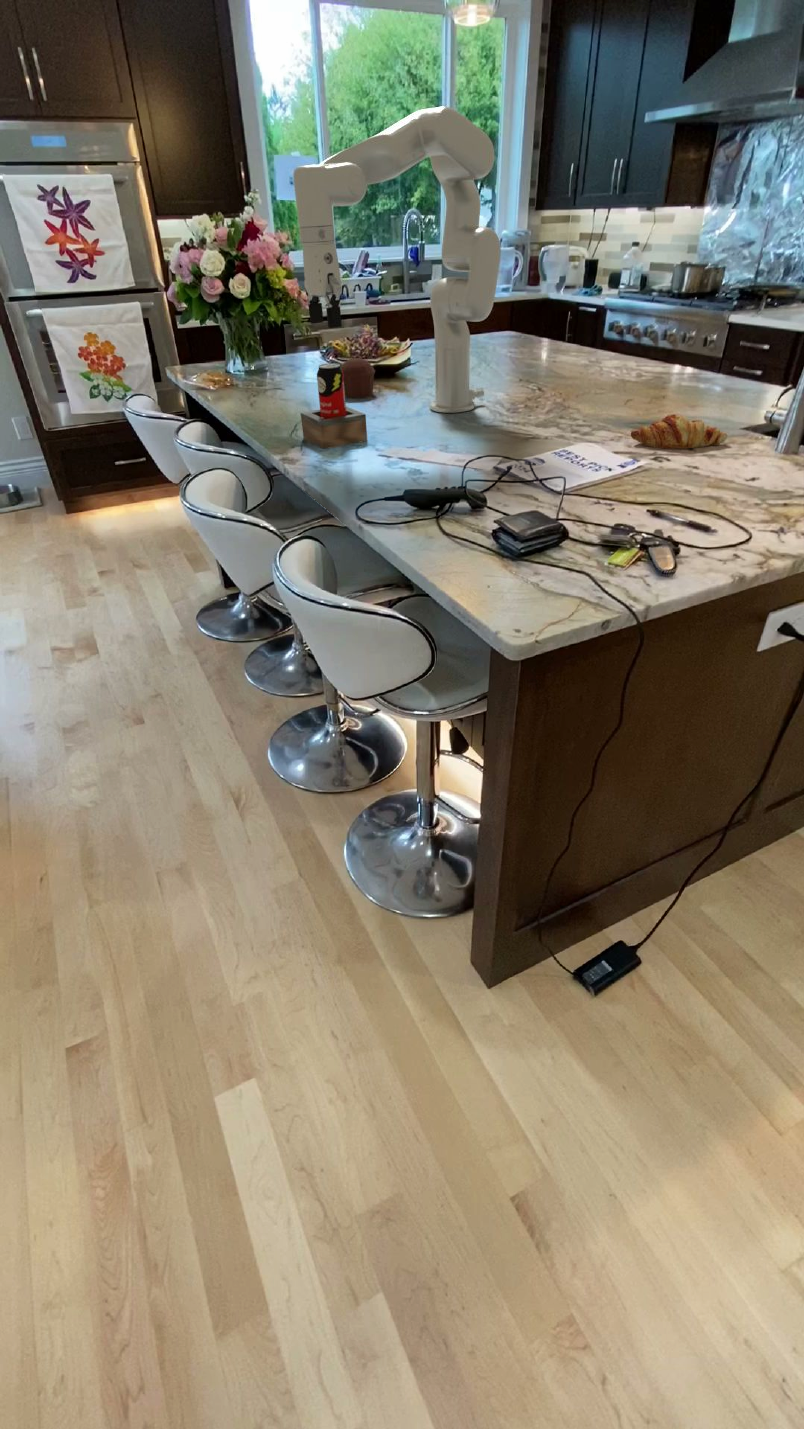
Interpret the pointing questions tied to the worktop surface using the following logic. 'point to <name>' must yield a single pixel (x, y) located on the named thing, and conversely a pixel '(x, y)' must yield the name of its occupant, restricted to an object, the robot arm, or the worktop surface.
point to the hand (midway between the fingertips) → (325, 325)
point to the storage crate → (334, 428)
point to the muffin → (358, 378)
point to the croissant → (678, 433)
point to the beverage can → (331, 391)
